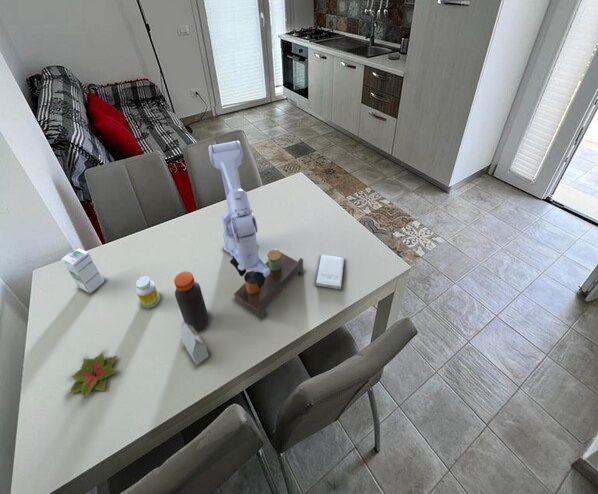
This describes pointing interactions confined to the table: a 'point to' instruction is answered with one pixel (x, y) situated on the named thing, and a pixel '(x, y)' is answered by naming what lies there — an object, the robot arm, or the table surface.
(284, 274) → the spice shelf
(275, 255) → the sage jar
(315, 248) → the table surface
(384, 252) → the table surface
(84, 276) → the syrup box
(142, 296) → the supplement bottle
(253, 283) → the ochre jar
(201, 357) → the white gable top packet
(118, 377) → the table surface
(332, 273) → the hard drive
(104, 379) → the red green leafy plant
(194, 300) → the vinegar
